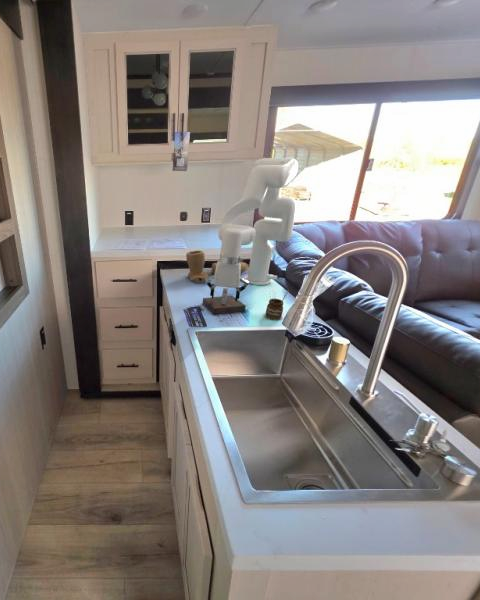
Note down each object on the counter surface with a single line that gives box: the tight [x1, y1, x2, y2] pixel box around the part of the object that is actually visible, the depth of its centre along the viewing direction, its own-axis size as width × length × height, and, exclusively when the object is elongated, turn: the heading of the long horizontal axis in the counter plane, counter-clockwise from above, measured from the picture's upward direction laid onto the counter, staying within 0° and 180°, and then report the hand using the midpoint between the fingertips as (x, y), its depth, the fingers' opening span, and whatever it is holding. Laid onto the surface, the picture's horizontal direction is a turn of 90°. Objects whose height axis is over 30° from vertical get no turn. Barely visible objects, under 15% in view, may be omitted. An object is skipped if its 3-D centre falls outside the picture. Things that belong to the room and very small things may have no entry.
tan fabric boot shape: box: [185, 250, 211, 284], centre depth 164 cm, size 15×12×15 cm
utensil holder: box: [265, 289, 289, 321], centre depth 124 cm, size 6×6×12 cm
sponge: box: [211, 261, 249, 275], centre depth 175 cm, size 13×8×20 cm
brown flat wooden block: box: [202, 295, 246, 316], centre depth 133 cm, size 14×11×3 cm
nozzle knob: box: [221, 287, 229, 305], centre depth 132 cm, size 6×2×5 cm, turn 162°
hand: (224, 298), depth 132 cm, fingers open, 9 cm apart
